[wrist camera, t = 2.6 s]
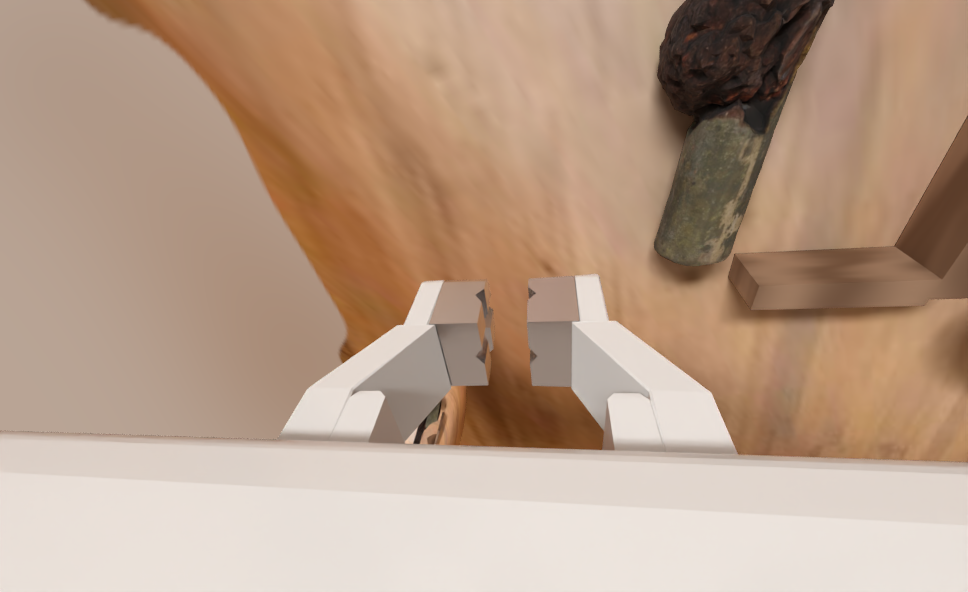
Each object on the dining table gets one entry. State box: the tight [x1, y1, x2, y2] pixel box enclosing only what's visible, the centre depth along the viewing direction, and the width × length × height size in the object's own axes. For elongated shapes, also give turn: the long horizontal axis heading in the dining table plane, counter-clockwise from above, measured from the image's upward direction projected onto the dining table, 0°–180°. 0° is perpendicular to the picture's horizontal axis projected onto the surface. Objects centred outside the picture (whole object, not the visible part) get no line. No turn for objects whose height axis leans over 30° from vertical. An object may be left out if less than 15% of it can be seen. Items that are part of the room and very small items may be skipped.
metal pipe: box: [654, 0, 834, 266], centre depth 21 cm, size 18×7×6 cm, turn 3°
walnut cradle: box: [728, 117, 968, 310], centre depth 19 cm, size 12×26×4 cm, turn 7°
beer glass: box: [405, 299, 467, 445], centre depth 29 cm, size 7×7×15 cm
